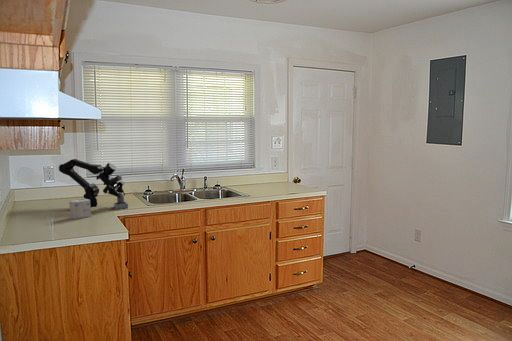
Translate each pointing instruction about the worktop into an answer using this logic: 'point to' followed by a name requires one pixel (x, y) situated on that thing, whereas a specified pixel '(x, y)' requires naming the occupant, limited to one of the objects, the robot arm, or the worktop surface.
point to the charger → (120, 198)
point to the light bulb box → (80, 208)
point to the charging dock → (120, 205)
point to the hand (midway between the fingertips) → (122, 196)
